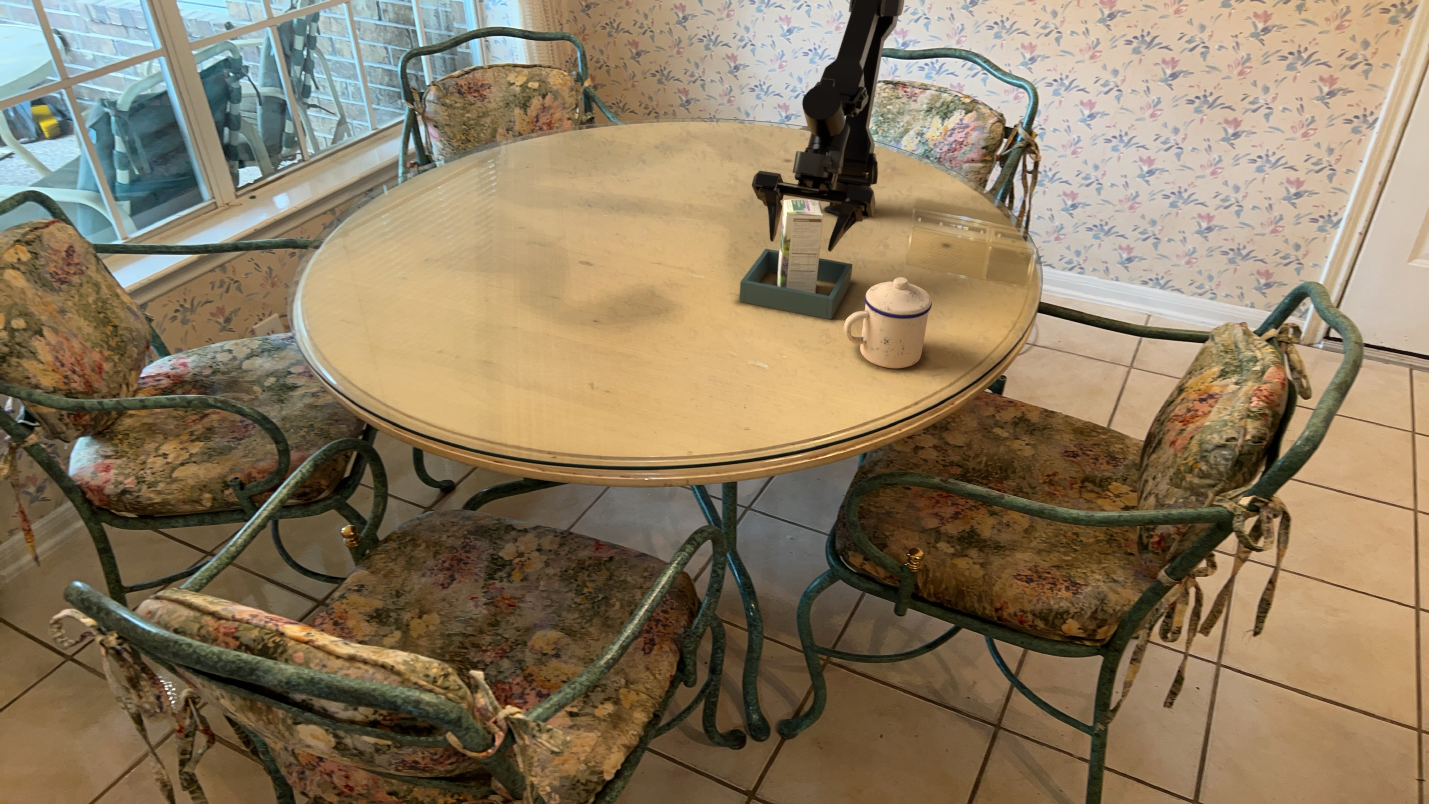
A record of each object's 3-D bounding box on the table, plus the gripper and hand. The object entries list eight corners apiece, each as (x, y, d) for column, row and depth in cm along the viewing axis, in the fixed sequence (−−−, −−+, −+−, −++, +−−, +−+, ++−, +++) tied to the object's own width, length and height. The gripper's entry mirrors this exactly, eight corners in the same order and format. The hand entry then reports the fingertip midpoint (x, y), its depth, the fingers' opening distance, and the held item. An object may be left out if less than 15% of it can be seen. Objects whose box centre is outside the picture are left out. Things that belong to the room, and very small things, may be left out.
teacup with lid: (906, 333, 133) (917, 261, 126) (933, 366, 126) (947, 292, 119) (829, 343, 130) (837, 270, 124) (853, 377, 123) (862, 302, 116)
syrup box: (776, 283, 145) (781, 198, 137) (812, 284, 145) (820, 198, 137) (778, 301, 140) (784, 213, 132) (816, 301, 140) (824, 214, 132)
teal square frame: (764, 267, 150) (765, 248, 148) (850, 283, 146) (852, 263, 143) (739, 301, 140) (740, 281, 138) (830, 319, 136) (833, 299, 134)
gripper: (758, 118, 135) (731, 214, 133) (881, 135, 130) (855, 235, 128) (771, 153, 146) (746, 242, 144) (885, 169, 141) (861, 263, 139)
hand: (800, 245), depth 138 cm, fingers open, 9 cm apart
